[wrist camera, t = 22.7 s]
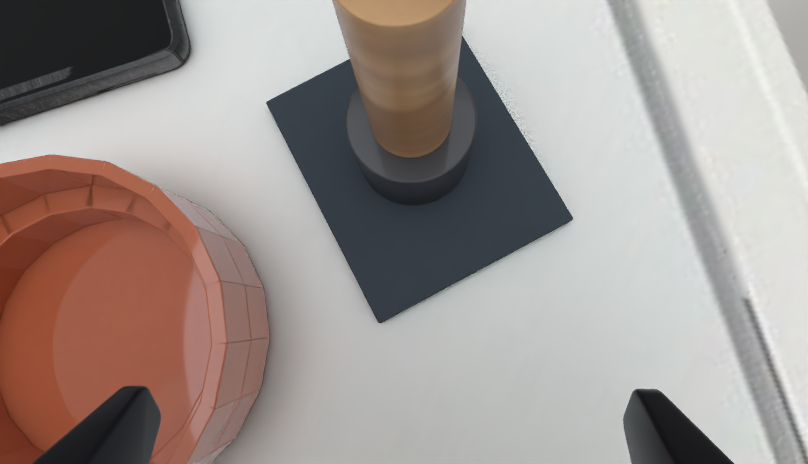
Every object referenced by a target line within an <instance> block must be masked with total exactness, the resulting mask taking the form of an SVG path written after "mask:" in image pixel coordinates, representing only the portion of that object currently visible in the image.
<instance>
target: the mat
mask: <svg viewBox="0 0 808 464" xmlns="http://www.w3.org/2000/svg"><path fill="white" fill-rule="evenodd" d="M457 76H458V77H459V78H460V79H461V80H462V81H463V83H464V84H465V85H466V87H467V88H468V90H469V91H470V93H471V95H472V98H473V100H474V103H475V107H476V113H477V128H476V134H475V137H474V141H473V145H472V149H471V153H470V157H469V160H468V164H467V168H466V170H465V173H464V175H463V177H462V178H461V180H460V182H459V183H458V184H457V185H456V187H455V188H454V189H453V190H452V191H451V192H449V193H448V194H447V195H445V196H444V197H442V198H440V199H439V200H436V201H434V202H431V203H427V204H423V205H403V204H399V203H395V202H392V201H390V200H388V199H386V198H384V197H382V196H381V195H380V194H378V193H377V192H376V191H375V190H374V189H373V188H372V187H371V186H370V185H369V183H368V182H367V181H366V179H365V177H364V175H363V173H362V171H361V169H360V167H359V164H358V162H357V160H356V158H355V156H354V153H353V151H352V149H351V147H350V144H349V142H348V138H347V134H346V127H345V116H346V110H347V106H348V103H349V100H350V98H351V96H352V94H353V92H354V90H355V89H356V87H357V86H358V84H357V81H356V77H355V74H354V71H353V67H352V64H351V61H350V59H349V60H347V61H345V62H343V63H341V64H339V65H337V66H335V67H333V68H331V69H329V70H327V71H325V72H324V73H322V74H320V75H318V76H316V77H314V78H312V79H310V80H308V81H306V82H304V83H302V84H300V85H298V86H296V87H294V88H292V89H291V90H289V91H287V92H285V93H283V94H281V95H279V96H277V97H275V98H273V99H271V100H269V101H267V102H266V104H267V106H268V108H269V110H270V111H271V113H272V115H273V117H274V119H275V121H276V123H277V125H278V127H279V129H280V131H281V133H282V135H283V137H284V139H285V141H286V143H287V145H288V147H289V149H290V151H291V152H292V154H293V156H294V158H295V160H296V162H297V164H298V166H299V168H300V170H301V172H302V174H303V176H304V178H305V180H306V182H307V184H308V186H309V188H310V190H311V192H312V194H313V195H314V197H315V199H316V201H317V203H318V205H319V207H320V209H321V211H322V213H323V215H324V217H325V219H326V221H327V223H328V225H329V227H330V229H331V231H332V233H333V235H334V237H335V238H336V240H337V242H338V244H339V246H340V248H341V250H342V252H343V254H344V256H345V258H346V260H347V262H348V264H349V266H350V268H351V270H352V272H353V274H354V276H355V278H356V280H357V281H358V283H359V285H360V287H361V289H362V291H363V293H364V295H365V297H366V299H367V301H368V303H369V305H370V307H371V309H372V311H373V313H374V315H375V317H376V319H377V321H378V322H379V323H382V322H384V321H385V320H387V319H389V318H391V317H393V316H395V315H397V314H399V313H400V312H402V311H404V310H406V309H408V308H410V307H412V306H413V305H415V304H417V303H419V302H421V301H423V300H425V299H426V298H428V297H430V296H432V295H434V294H436V293H438V292H439V291H441V290H443V289H445V288H447V287H449V286H451V285H452V284H454V283H456V282H458V281H460V280H462V279H464V278H465V277H467V276H469V275H471V274H473V273H475V272H477V271H478V270H480V269H482V268H484V267H486V266H488V265H490V264H492V263H493V262H495V261H497V260H499V259H501V258H503V257H505V256H506V255H508V254H510V253H512V252H514V251H516V250H518V249H519V248H521V247H523V246H525V245H527V244H529V243H531V242H532V241H534V240H536V239H538V238H540V237H542V236H544V235H545V234H547V233H549V232H551V231H553V230H555V229H557V228H558V227H560V226H562V225H564V224H566V223H568V222H570V221H571V220H572V219H573V217H572V216H571V214H570V212H569V211H568V209H567V207H566V206H565V204H564V202H563V201H562V199H561V197H560V196H559V194H558V193H557V191H556V189H555V188H554V186H553V184H552V183H551V181H550V179H549V178H548V176H547V174H546V173H545V171H544V169H543V168H542V166H541V165H540V163H539V161H538V160H537V158H536V156H535V155H534V153H533V151H532V150H531V148H530V146H529V145H528V143H527V141H526V140H525V138H524V137H523V135H522V133H521V132H520V130H519V128H518V127H517V125H516V123H515V122H514V120H513V118H512V117H511V115H510V113H509V112H508V110H507V109H506V107H505V105H504V104H503V102H502V100H501V99H500V97H499V95H498V94H497V92H496V90H495V89H494V87H493V85H492V84H491V82H490V81H489V79H488V77H487V76H486V74H485V72H484V71H483V69H482V67H481V66H480V64H479V62H478V61H477V59H476V57H475V56H474V54H473V53H472V51H471V49H470V48H469V46H468V44H467V43H466V41H465V39H464V38H463V36H462V40H461V48H460V56H459V64H458V72H457Z"/></svg>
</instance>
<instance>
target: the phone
mask: <svg viewBox="0 0 808 464" xmlns="http://www.w3.org/2000/svg"><path fill="white" fill-rule="evenodd" d="M189 52H190V41H189V37H188V34H187V30H186V26H185V23H184V19H183V15H182V11H181V8H180V4H179V0H0V125H2V124H5V123H8V122H11V121H14V120H17V119H20V118H24V117H27V116H30V115H33V114H36V113H39V112H42V111H45V110H48V109H51V108H55V107H58V106H61V105H64V104H67V103H70V102H73V101H76V100H79V99H82V98H85V97H89V96H92V95H95V94H98V93H101V92H104V91H107V90H110V89H113V88H116V87H120V86H123V85H126V84H129V83H132V82H135V81H138V80H141V79H144V78H147V77H151V76H154V75H157V74H160V73H163V72H166V71H169V70H172V69H175V68H177V67H179V66H180V65H181V64H182V63H184V62H185V60H186V59H187V57H188V55H189Z"/></svg>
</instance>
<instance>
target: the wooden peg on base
mask: <svg viewBox="0 0 808 464" xmlns="http://www.w3.org/2000/svg"><path fill="white" fill-rule="evenodd" d="M332 1H333V5H334V8H335V11H336V15H337V18H338V21H339V25H340V28H341V31H342V34H343V38H344V41H345V44H346V48H347V51H348V54H349V58H350V61H351V64H352V67H353V71H354V74H355V77H356V81H357V84H358V86H357V87H356V89H355V90H354V92H353V94H352V96H351V98H350V100H349V103H348V106H347V110H346V116H345V127H346V134H347V138H348V142H349V144H350V147H351V149H352V151H353V153H354V156H355V158H356V160H357V162H358V164H359V167H360V169H361V171H362V173H363V175H364V177H365V179H366V181H367V182H368V183H369V185H370V186H371V187H372V188H373V189H374V190H375V191H376V192H377V193H378V194H380V195H381V196H382V197H384V198H386V199H388V200H390V201H392V202H395V203H399V204H403V205H423V204H427V203H431V202H434V201H436V200H439V199H440V198H442V197H444V196H445V195H447V194H448V193H449V192H451V191H452V190H453V189H454V188H455V187H456V185H457V184H458V183H459V182H460V180H461V178H462V177H463V175H464V173H465V170H466V168H467V164H468V160H469V157H470V153H471V149H472V145H473V141H474V137H475V134H476V128H477V113H476V107H475V103H474V100H473V98H472V95H471V93H470V91H469V90H468V88H467V87H466V85H465V84H464V83H463V81H462V80H461V79H460V78H459V77H458V76H457V72H458V64H459V56H460V48H461V40H462V32H463V23H464V15H465V7H466V0H332Z"/></svg>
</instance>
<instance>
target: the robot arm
mask: <svg viewBox="0 0 808 464" xmlns="http://www.w3.org/2000/svg"><path fill="white" fill-rule="evenodd" d="M160 424H161V411H160V409H159V407H158V405H157V403H156V401H155V399H154V397H153V395H152V393H151V391H150V390H149V388H148V387H146V386H124V387H122V388H120V389H119V390H118V391H116V392H115V393H114V394H113V395H112V396H111V397H109V398H108V399H107V400H106V401H105V402H103V403H102V404H101V405H100V406H99V407H98V408H96V409H95V410H94V411H93V412H92V413H90V414H89V415H88V416H87V417H86V418H85V419H83V420H82V421H81V422H80V423H79V424H77V425H76V426H75V427H74V428H73V429H71V430H70V431H69V432H68V433H67V434H66V435H64V436H63V437H62V438H61V439H60V440H58V441H57V442H56V443H55V444H54V445H53V446H51V447H50V448H49V449H48V450H47V451H45V452H44V453H43V454H42V455H41V456H40V457H38V458H37V459H36V460H35V461H34V462H32V463H31V464H149V463H150V460H151V456H152V452H153V449H154V445H155V442H156V438H157V435H158V431H159V428H160ZM623 424H624V431H625V435H626V440H627V444H628V449H629V454H630V458H631V463H632V464H734V463H733V462H732V461H731V460H730V459H729V458H728V457H727V456H726V455H725V454H724V453H723V452H722V451H721V450H720V449H719V448H718V447H717V446H716V445H715V444H714V443H713V442H712V441H711V440H710V439H709V438H708V437H707V436H706V435H705V434H704V433H703V432H702V431H701V430H700V429H699V428H698V427H697V426H696V425H695V424H694V423H692V422H691V421H690V420H689V419H688V418H687V417H686V416H685V415H684V414H683V413H682V412H681V411H680V410H679V409H678V408H677V407H676V406H675V405H674V404H673V403H672V402H671V401H670V400H669V399H668V398H667V397H666V396H665V395H664V394H663V393H662V392H660V391H659V390H657V389H636V390H634V391H633V393H632V395H631V397H630V400H629V403H628V405H627V408H626V411H625V414H624V419H623Z"/></svg>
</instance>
